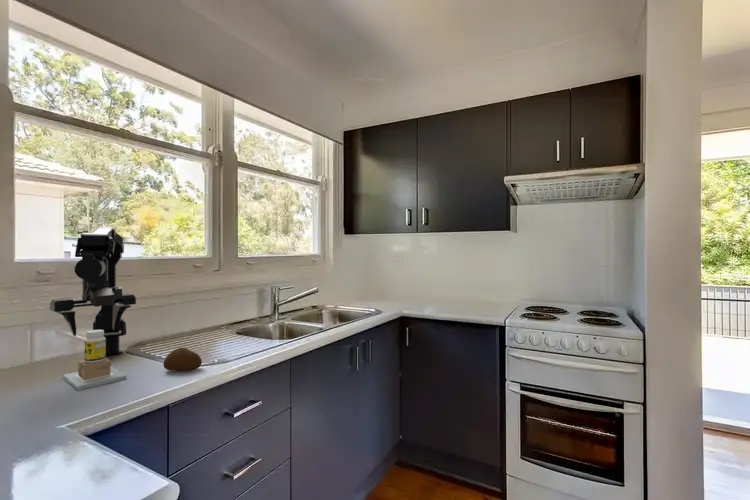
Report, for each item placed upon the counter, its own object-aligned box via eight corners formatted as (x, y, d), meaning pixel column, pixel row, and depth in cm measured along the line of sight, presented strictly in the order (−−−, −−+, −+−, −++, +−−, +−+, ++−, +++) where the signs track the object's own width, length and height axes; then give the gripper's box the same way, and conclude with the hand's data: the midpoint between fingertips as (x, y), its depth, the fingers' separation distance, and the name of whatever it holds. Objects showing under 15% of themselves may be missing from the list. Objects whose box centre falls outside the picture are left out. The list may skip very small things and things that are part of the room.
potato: (199, 373, 109) (199, 349, 109) (159, 376, 106) (159, 352, 106) (203, 366, 116) (203, 344, 116) (166, 369, 113) (166, 346, 113)
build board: (63, 378, 104) (63, 374, 104) (109, 368, 113) (109, 365, 113) (77, 390, 95) (77, 386, 95) (126, 378, 104) (126, 375, 104)
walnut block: (78, 375, 103) (78, 361, 103) (104, 370, 108) (104, 356, 108) (84, 380, 100) (84, 365, 100) (110, 374, 104) (110, 360, 104)
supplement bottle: (80, 361, 103) (81, 331, 103) (100, 357, 107) (100, 328, 107) (89, 364, 101) (89, 333, 101) (108, 359, 105) (109, 330, 105)
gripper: (60, 281, 92) (59, 343, 92) (143, 277, 106) (143, 331, 106) (49, 278, 98) (49, 337, 98) (129, 275, 113) (128, 326, 113)
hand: (95, 332), depth 104 cm, fingers open, 9 cm apart
